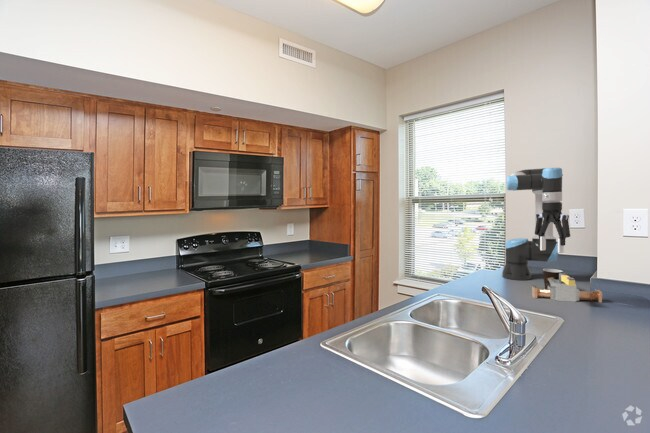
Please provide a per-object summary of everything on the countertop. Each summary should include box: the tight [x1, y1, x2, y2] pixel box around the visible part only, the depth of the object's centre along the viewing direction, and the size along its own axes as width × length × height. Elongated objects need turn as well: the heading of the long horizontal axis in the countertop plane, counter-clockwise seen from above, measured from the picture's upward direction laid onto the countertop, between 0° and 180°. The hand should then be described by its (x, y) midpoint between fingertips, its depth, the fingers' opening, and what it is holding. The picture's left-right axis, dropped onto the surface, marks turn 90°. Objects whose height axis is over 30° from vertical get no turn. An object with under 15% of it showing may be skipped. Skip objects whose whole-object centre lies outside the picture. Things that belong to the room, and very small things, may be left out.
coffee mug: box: [542, 268, 572, 289], centre depth 170 cm, size 12×9×10 cm
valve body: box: [531, 279, 603, 303], centre depth 156 cm, size 8×26×8 cm, turn 70°
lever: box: [559, 272, 576, 286], centre depth 151 cm, size 13×3×4 cm, turn 160°
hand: (551, 251), depth 153 cm, fingers open, 8 cm apart
